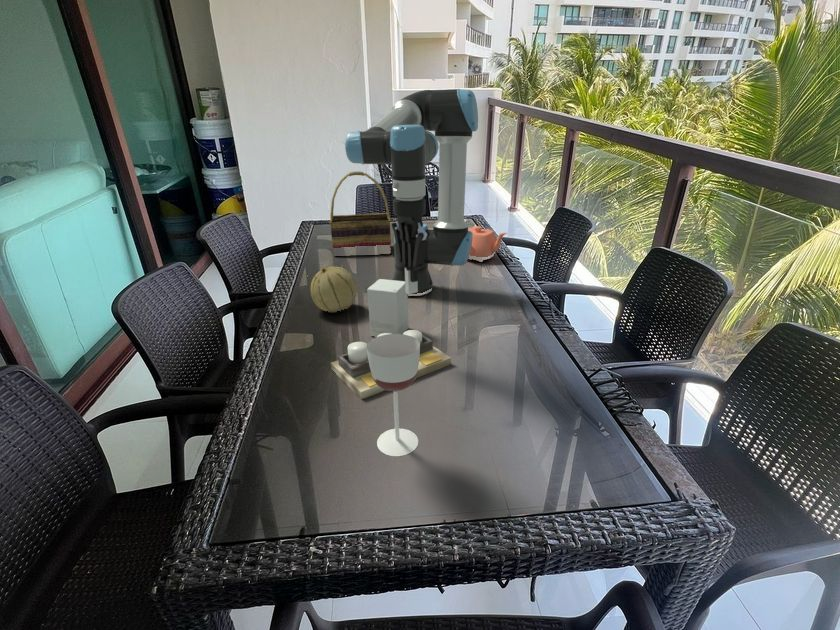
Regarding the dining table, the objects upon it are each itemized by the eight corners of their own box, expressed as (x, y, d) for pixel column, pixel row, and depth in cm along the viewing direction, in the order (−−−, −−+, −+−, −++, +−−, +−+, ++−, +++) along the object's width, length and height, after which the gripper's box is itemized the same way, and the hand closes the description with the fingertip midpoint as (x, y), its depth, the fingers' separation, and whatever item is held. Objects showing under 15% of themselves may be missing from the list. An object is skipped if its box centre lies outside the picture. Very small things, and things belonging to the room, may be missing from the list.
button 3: (399, 344, 123) (399, 333, 122) (415, 339, 126) (414, 328, 124) (410, 352, 119) (409, 340, 118) (425, 346, 122) (425, 335, 120)
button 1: (345, 357, 114) (344, 345, 113) (363, 352, 117) (362, 339, 115) (354, 366, 110) (353, 353, 109) (372, 360, 113) (371, 347, 112)
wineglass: (373, 429, 96) (367, 335, 86) (419, 426, 96) (417, 332, 87) (373, 458, 88) (366, 358, 79) (423, 455, 89) (422, 355, 79)
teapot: (505, 263, 191) (507, 230, 185) (463, 267, 187) (464, 234, 181) (489, 251, 207) (491, 220, 201) (450, 254, 203) (450, 223, 197)
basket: (332, 257, 201) (323, 175, 186) (333, 248, 214) (326, 170, 200) (392, 255, 204) (389, 172, 189) (390, 245, 217) (387, 168, 202)
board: (331, 369, 117) (329, 354, 115) (415, 340, 131) (415, 326, 129) (361, 399, 105) (360, 382, 103) (450, 364, 119) (451, 349, 117)
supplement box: (409, 327, 138) (408, 281, 132) (398, 341, 131) (396, 292, 124) (381, 323, 141) (379, 277, 135) (369, 336, 133) (366, 288, 127)
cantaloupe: (367, 309, 151) (364, 265, 145) (331, 324, 141) (326, 278, 135) (339, 297, 160) (335, 256, 154) (303, 311, 150) (298, 267, 144)
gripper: (380, 195, 109) (385, 287, 119) (411, 204, 99) (413, 304, 109) (407, 191, 113) (409, 281, 123) (439, 199, 103) (439, 296, 113)
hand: (411, 292), depth 116 cm, fingers closed
